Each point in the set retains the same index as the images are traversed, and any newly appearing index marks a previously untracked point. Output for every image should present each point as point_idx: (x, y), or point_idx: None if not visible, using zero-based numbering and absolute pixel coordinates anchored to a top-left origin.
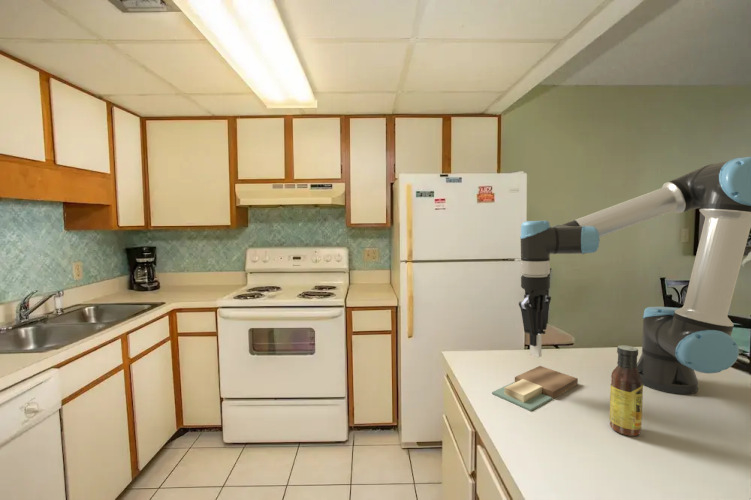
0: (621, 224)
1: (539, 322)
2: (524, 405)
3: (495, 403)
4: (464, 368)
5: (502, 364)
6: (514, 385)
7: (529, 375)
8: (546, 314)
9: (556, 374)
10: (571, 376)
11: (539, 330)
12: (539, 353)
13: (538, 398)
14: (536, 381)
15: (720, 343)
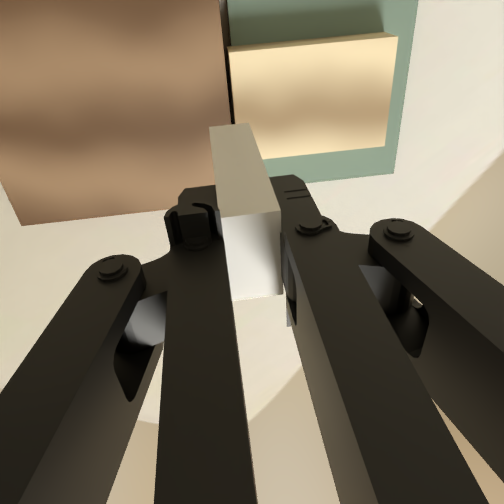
0: None
1: (235, 339)
2: (407, 9)
3: (454, 107)
4: (288, 344)
5: None
6: (333, 136)
7: (162, 179)
8: (15, 460)
9: (14, 117)
10: None
11: (226, 261)
12: (239, 134)
13: (292, 16)
14: (189, 117)
15: None
